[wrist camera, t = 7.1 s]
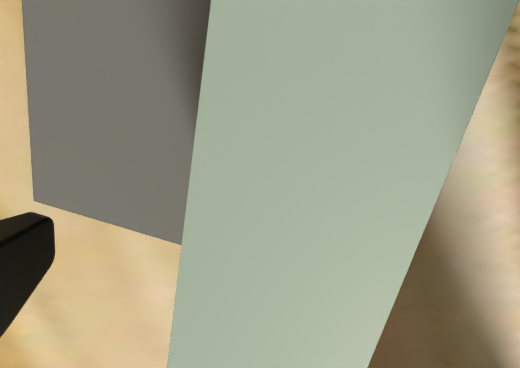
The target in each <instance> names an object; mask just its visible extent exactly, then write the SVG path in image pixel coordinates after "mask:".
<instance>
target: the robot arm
mask: <svg viewBox="0 0 520 368" xmlns="http://www.w3.org/2000/svg"><path fill="white" fill-rule="evenodd" d="M54 256H55V238H54V223H53V221H52V219H51V218H49V217H47V216H44V215H40V214H37V213H33V212H28V213H24V214H21V215H17V216H13V217H10V218H6V219H2V220H0V337H1V336H2V335H3V334H4V332H5V331H6V330H7V328H8V327H9V326H10V324H11V323H12V322H13V320H14V319H15V317H16V316H17V314H18V313H19V312H20V310H21V309H22V307H23V306H24V304H25V303H26V301H27V300H28V298H29V297H30V296H31V294H32V293H33V291H34V290H35V288H36V287H37V285H38V284H39V283H40V281H41V280H42V278H43V277H44V275H45V274H46V272H47V271H48V270H49V268H50V266H51V265H52V263H53V260H54Z"/></svg>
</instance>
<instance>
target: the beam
mask: <svg viewBox="0 0 520 368" xmlns="http://www.w3.org/2000/svg"><path fill="white" fill-rule="evenodd" d="M518 3H519V0H211V6H210V14H209V22H208V31H207V39H206V47H205V55H204V64H203V72H202V80H201V89H200V97H199V105H198V114H197V122H196V130H195V138H194V147H193V155H192V163H191V172H190V180H189V188H188V197H187V205H186V213H185V221H184V230H183V238H182V246H181V255H180V263H179V271H178V279H177V288H176V296H175V304H174V313H173V321H172V329H171V338H170V346H169V354H168V362H167V368H367V367H368V365H369V363H370V360H371V358H372V355H373V353H374V350H375V348H376V346H377V343H378V341H379V338H380V336H381V334H382V331H383V329H384V326H385V324H386V321H387V319H388V317H389V314H390V312H391V309H392V307H393V305H394V302H395V300H396V297H397V295H398V293H399V290H400V288H401V285H402V283H403V280H404V278H405V276H406V273H407V271H408V268H409V266H410V264H411V261H412V259H413V256H414V254H415V251H416V249H417V247H418V244H419V242H420V239H421V237H422V235H423V232H424V230H425V227H426V225H427V222H428V220H429V218H430V215H431V213H432V210H433V208H434V206H435V203H436V201H437V198H438V196H439V193H440V191H441V189H442V186H443V184H444V181H445V179H446V177H447V174H448V172H449V169H450V167H451V164H452V162H453V160H454V157H455V155H456V152H457V150H458V148H459V145H460V143H461V140H462V138H463V135H464V133H465V131H466V128H467V126H468V123H469V121H470V119H471V116H472V114H473V111H474V109H475V106H476V104H477V102H478V99H479V97H480V94H481V92H482V90H483V87H484V85H485V82H486V80H487V77H488V75H489V73H490V70H491V68H492V65H493V63H494V61H495V58H496V56H497V53H498V51H499V48H500V46H501V44H502V41H503V39H504V36H505V34H506V32H507V29H508V27H509V24H510V22H511V19H512V17H513V15H514V12H515V10H516V7H517V5H518Z"/></svg>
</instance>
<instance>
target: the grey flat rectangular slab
mask: <svg viewBox="0 0 520 368" xmlns="http://www.w3.org/2000/svg"><path fill="white" fill-rule="evenodd" d="M210 6H211V0H22V12H23V29H24V45H25V62H26V79H27V96H28V112H29V129H30V146H31V163H32V179H33V196H34V201H36V202H39V203H42V204H46V205H49V206H52V207H56V208H59V209H63V210H66V211H69V212H73V213H76V214H79V215H83V216H86V217H89V218H93V219H96V220H99V221H103V222H106V223H109V224H113V225H116V226H119V227H123V228H126V229H129V230H133V231H136V232H139V233H143V234H146V235H150V236H153V237H156V238H160V239H163V240H166V241H170V242H173V243H176V244H180V245H182V238H183V230H184V221H185V213H186V205H187V197H188V188H189V180H190V172H191V163H192V155H193V147H194V138H195V130H196V122H197V114H198V105H199V97H200V89H201V80H202V72H203V64H204V55H205V47H206V39H207V31H208V22H209V14H210Z"/></svg>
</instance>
